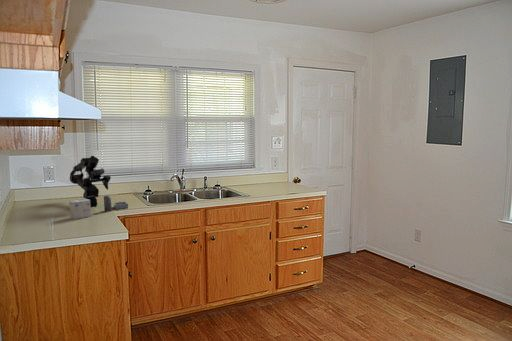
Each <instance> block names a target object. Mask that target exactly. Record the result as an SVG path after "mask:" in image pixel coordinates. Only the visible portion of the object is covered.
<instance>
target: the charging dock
mask: <svg viewBox="0 0 512 341" xmlns="http://www.w3.org/2000/svg"><path fill="white" fill-rule="evenodd" d="M113 208H114V210H123V209H122V208H125V209H128V208H129V204H128V202H127V201H119V202H117V201H116V202H113Z"/></svg>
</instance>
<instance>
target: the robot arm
mask: <svg viewBox="0 0 512 341" xmlns="http://www.w3.org/2000/svg"><path fill="white" fill-rule="evenodd" d="M99 162H100V160H99V158H98V157H96V156H95V155H91V156H90V157H82V158H81V159H80V162H79V163H78V164H77V165H75V166H73V168H72V171H70V173H69V182H70V183H71V184H75V185H78V186H79V187H80V188H82V189H83V190H84V191H83V194H82V195H83V199H90V206H91V208H93V207H97V206H98V199H97V198H98V197H99V193H100V191H99V190H100V189H99V188H98V187H97V186H96V185H95V184H93V183H98V182H99V183H100V182H102V185H103V186H104V188H105V189H106V190H107V191H108V190H109V183H110V181H111V179H112V178H111V175H110V174H107V175H104V176H103V177H102V175H103V174H105V172H106V171H105V169H104V168H100V169H96V168H97V166H98V164H99ZM84 169H85V171H84V172H86V173H87V177H86V178H85V177H84V173H83V170H84ZM76 172H80V174H79V173H78V174H76Z"/></svg>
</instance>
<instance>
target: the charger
mask: <svg viewBox="0 0 512 341" xmlns="http://www.w3.org/2000/svg"><path fill="white" fill-rule="evenodd" d="M103 206H104V210H103V211H104V213H108V212H112V196H111V195H104V196H103Z"/></svg>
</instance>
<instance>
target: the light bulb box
mask: <svg viewBox="0 0 512 341" xmlns="http://www.w3.org/2000/svg"><path fill="white" fill-rule="evenodd" d="M68 203H69V204H68V205H69V213H70V214H69V215H70V219H72V218H73V219H72V220H79V219H84V218H88V217H91V216H92V207H91V206H90V199H86V198H79V199H76V200H69V202H68ZM78 218H79V219H78Z"/></svg>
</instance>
